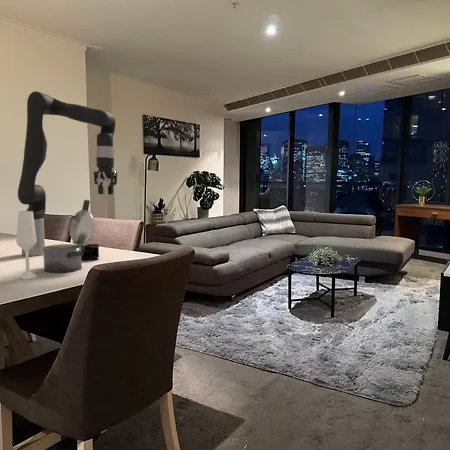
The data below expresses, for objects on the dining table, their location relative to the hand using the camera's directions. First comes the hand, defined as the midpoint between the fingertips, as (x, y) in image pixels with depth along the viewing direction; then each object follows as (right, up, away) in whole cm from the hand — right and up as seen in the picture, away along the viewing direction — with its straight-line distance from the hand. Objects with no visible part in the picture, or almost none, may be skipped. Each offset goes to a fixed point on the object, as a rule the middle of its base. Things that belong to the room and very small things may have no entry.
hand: (105, 194), depth 182 cm
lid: (-5, -13, -16) cm, 21 cm away
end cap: (-8, -30, 0) cm, 31 cm away
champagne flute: (-18, -33, -34) cm, 51 cm away
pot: (-11, -32, -21) cm, 39 cm away
